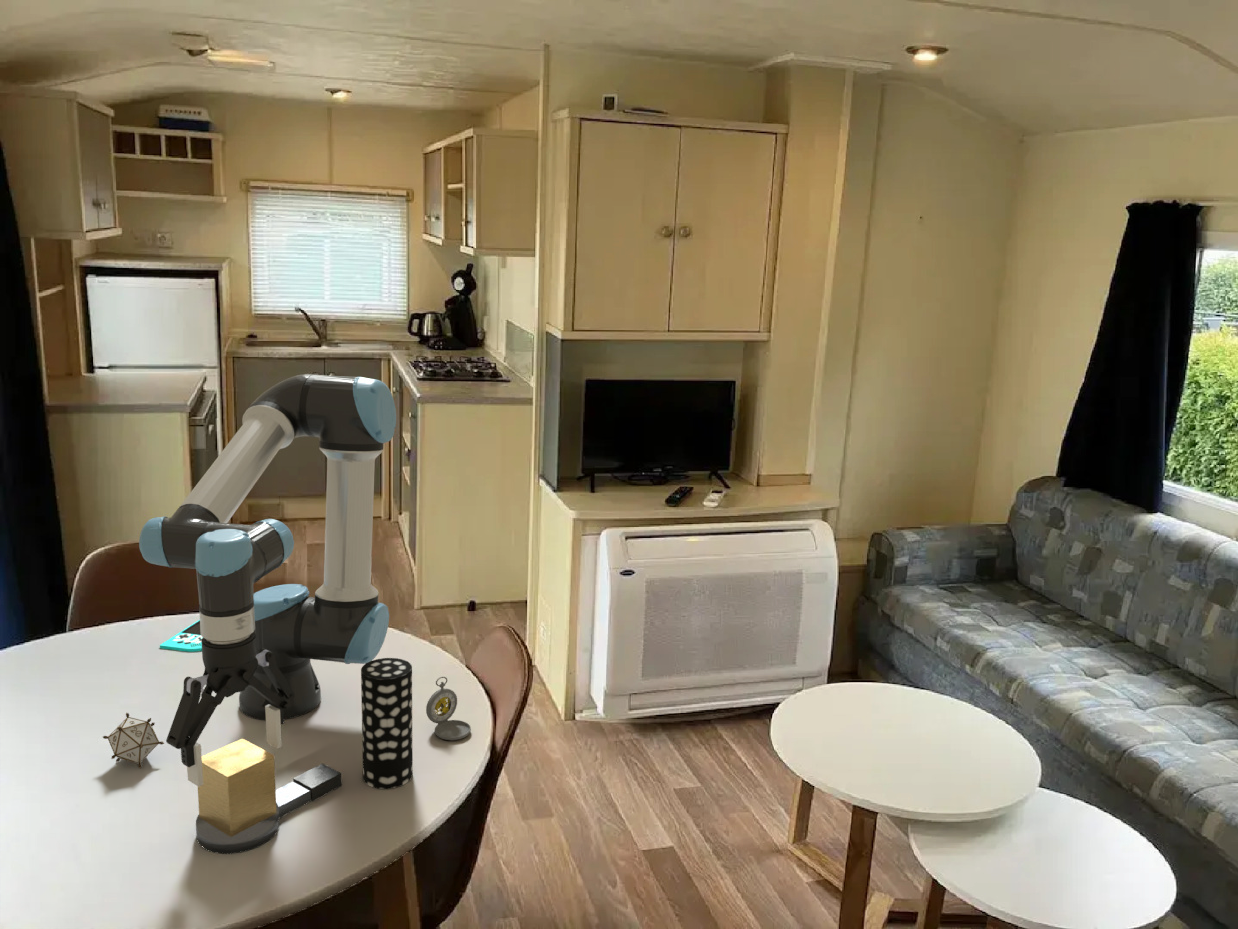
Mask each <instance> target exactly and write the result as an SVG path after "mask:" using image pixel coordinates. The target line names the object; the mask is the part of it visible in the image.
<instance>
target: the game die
mask: <svg viewBox="0 0 1238 929" xmlns="http://www.w3.org/2000/svg"><path fill="white" fill-rule="evenodd" d="M125 717H126V718H125V719H124V720H123V721H122V722H121V723H120V724H118V726H117V727H116V728H115V729H114V730H113V731H112V732H111V733H110V734H109V735H103V736H102V739H105V740H106V739H107V740H108V742H109V746H110V747H111V750H112V751H113V754H112V755H111V758H110V759H111V760H113V759H115V758H116V760H115V762H116V763H119V762H120V761H121V760H123V761H127V762H131V763H135V764H137V767H138V768H139V769H141V768H142V762H143V761H144V760H145V758H147V756H148V755H149V754H151V752H153V750H154V749H156V748H157V746H158V745H164V744H165V742H164V741H160V740H159V738H158V737H157V734H156V732H155V730H154V728H153V727H154V726H155V723H156V722H151V721H152V718H147V720H143V719H138V718H135V717H134V718H133V717H132V716H131V717H130V713H129V712H126V713H125ZM150 722H151V723H150Z"/></svg>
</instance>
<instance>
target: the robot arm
mask: <svg viewBox="0 0 1238 929" xmlns="http://www.w3.org/2000/svg"><path fill="white" fill-rule="evenodd" d="M241 423H242V425H241V426H240V427H239V429H238V430H237V431H236V433H235V434H234V435H233V437H232V438H231V439H230V440H229V442H228V443H227V445H226V446H225V447H224V448H223V449H222V451H221V452H220V454H219V455H218V457H217V458H216V459H215V460H214V462H212V464H211V466H210V467H209V468H208V469H207V470H206V472H205V473H204V475H203V476H202V477H201V478H200V480H199V481H198V482H197V484H196V485H195V486H194V488H193V489H192V490H191V491H190V492H189V494H188V495H187V496H186V498H185V499H184V500H183V502H182V503H181V504H180V506H179V507H178V508H177V509H176V511H175V512H174V513H173V514H172V516H170V517H168V516H166V515H165V516H162V517H161V516H160V517H159V516H157V517H153V518H150V519H148V520H147V522H145V523H144V525H143V527H142V529H141V532H140V534H139V539H138V545H139V546H138V547H139V552H140V553H141V555H142V558H143V559H144V560H145V561H146V562H147V563H149V564H152V565H155V566H156V565H157V566H161V567H162V566H163V567H168V568H180V569H194V570H196V579H197V590H198V591H197V593H198V602H199V603H198V607H199V609H198V610H199V620H200V633H201V636H202V637H203V638H202V640H201V643H202V651H201V654H202V662H203V665H204V672H203V674H202V675H201V676H197V677H194V678H193V677H191V676H186V677H185V678H184V680H183V690H182V691H183V692H182V695H181V698H180V701H179V703H178V705H177V709H176V712H175V715H174V717H173V720H172V724H171V725H170V728H169V731H168V734H167V737H166V740H165V741H166V743H167V744H168V745H170V746H172V747H173V748H175V749H177V750H180V758H181V763H182V765H184V766H185V767H187V781H189V782H190V783H192V784H194V785H195V786H197V788H198V787H199V786H201V785H203V771H202V757H201V756H202V748H201V747H202V746H201V743H198V742H197V741H198V740H199V738H200V736H201V735H202V734H203V731H204V729H205V728H206V726H207V724H208V723H209V721H210V719H211V717H212V715H213V714H214V712H215V710H216V709H217V707H218V706H219V705H221V704H222V702H223V701H224V699H225V698H229V697H231V696H233V695H235V694H236V693H239V694H238V703H239V704H238V705H239V710H240V712H241V713H242V715H245V716H247V717H248V718H252V719H256V720H261V721H265V730H266V731H265V732H266V743H267V744H268V745H270V746H272V747H274V748H275V749H277V750H279V748H282V747H283V745H282V744H283V743H282V726H281V725H283V724H284V723H285V720H287V719H292V718H296V717H297V718H298V717H299V716H302V715H305V714H308V713H309V712H311V711H313V710H314V709H315V708H317V707H318V705H319V704H320V703H321V700H322V696H321V695H322V694H321V693H322V691H321V685H320V683H319V680H318V677H317V674H316V673H315V670H314V668H313V666H312V663H311V660H316V661H318V660H319V661H327V662H335V663H343V664H346V665H350V664H358V665H365V664H366V663H368V662H370V661H373V660H375V658H376V657H377V656H378V655H379V654H380V651H381V648H383V645H384V642H385V639H386V636H387V633H388V628H389V623H390V622H389V621H390V611H389V607H388V606H387V605H386V604H384V603H383V602H379V590H378V589H377V588H376V587H375V586H373V584H372V578H371V577H372V558H373V557H372V556H373V555H372V552H373V525H374V524H373V523H374V520H373V518H374V499H375V498H374V496H375V495H374V494H375V490H374V489H375V464H376V462H375V461H376V459H377V457H379V455H381V454H382V453H383V452H384V444H385V443H388V442H389V443H390V441H391V440H392V439H393V437H394V435H395V432H396V431H395V429H396V426H397V410H396V404H395V400H394V396H393V394H392V392H391V390H390V387H388V386H387V384H386V383H385V382H384V381H382V380H379V379H375V378H368V377H363V376H346V375H345V376H343V375H341V376H340V375H326V374H317V373H316V374H315V373H304V374H303V373H302V374H298V375H297V374H296V375H294V376H291V377H289V378H286V379H284V380H282V381H280V382H279V381H278V383H276V384H274V385H273V386H271V387H270V388H269V389H267V390H265V391H264V392H263V393H261V394H260V395H259V396H257V398H256V399H254V401H253V402H252V403H250V405H249V406H248V407H247V409H246V410H245V412H244V413H243V415H242V422H241ZM301 437H311V438H318V439H319V440H318V441H319V444H318V448H319V450H320V452H322V453H323V455H325V457H326V458H327V460H326V461H327V462H326V492H325V493H326V494H325V496H326V497H325V498H326V500H325V527H324V528H325V529H324V530H325V534H324V565H323V583H322V585H320V587H318V588H317V589H316V590H315V593H314V597H313V596H310V591H309V588H308V586H306V585H303V584H301V583H299V584H298V583H287V584H279V585H278V584H277V585H275V586H273V585H272V586H270V587H266V588H263V589H260V590H258V591H256V592H254V584H255V583H257V582H258V581H260V580H261V579H262V578H263V577H265V576H266V575H268V574H269V573H272V572H273V571H274V570H276V569H278V568H280V567H281V566H282V565H283V563H284V562H285V561H287V560H288V559H289V558H290V557H291V555H292V553H293V551H294V547H295V541H294V536H293V534H292V531H291V530H290V528H289V527H288V525H286V524H285V523H284V522H282V521H280V520H279V519H278V520H277V519H273V518H266V519H262V520H259V521H256V522H254V523H252V524H241V523H239V524H238V523H229V521H230V520H231V518H232V517H233V516H234V514H235V512H236V511H238V508H239V507H240V506H241V504H242V503H243V502H244V500H245V499H246V497H247V496H248V494H249V493H251V492H250V491H252V489H253V487H254V486H255V484H256V483H257V482H258V480H259V479H260V477H261V476H262V475H263V473H264V472H265V470H266V469H267V468H268V466H269V465H270V463H271V462H272V461H273V459H274V458H275V456H276V455H277V453H278V452H279V451H280V450H281V449H285V448H287V447H288V446H290V445H291V443H292V442H293V440H294V439H296V438H301ZM204 686H205V687H204ZM213 692H214V693H215V696H213V695H212V694H213Z"/></svg>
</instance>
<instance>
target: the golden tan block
mask: <svg viewBox="0 0 1238 929" xmlns="http://www.w3.org/2000/svg"><path fill="white" fill-rule="evenodd" d="M201 757H202V771H203V785H201V786H199V787H198V786H197V798H198V799H197V800H198V811H199V812H198V815H199V818H201V819H202V820H204V821H206V822H207V823H209V824H210V825H212V826H214V827H215V828H217V829H218V830H220V831H222V832H223V833H225V834H226V835H228V836H230V837H232V836H234V835H236V834H238V833H240V832H242V831H244V830H246V829H248V828H249V827H251V826H253V825H255V824H257V823H259V822H261V821H263V820H265V819H267V818H268V817H270V816H272V815H274V814H276V790H277V788H276V770H275V769H276V768H275V766H276V765H275V754H273V753H270V752H269V751H267V750H265V749H263V748H262V747H260V746H258V745H256V744H254V743H252V742H251V741H248V740H247V739H244V738H240V739H238V740H235V741H234V742H230V743H229V744H226V745H225V746H222V747H220V748H218V749H216V750H213V751H211V752H208V753H207V754H204V755H201Z"/></svg>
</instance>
